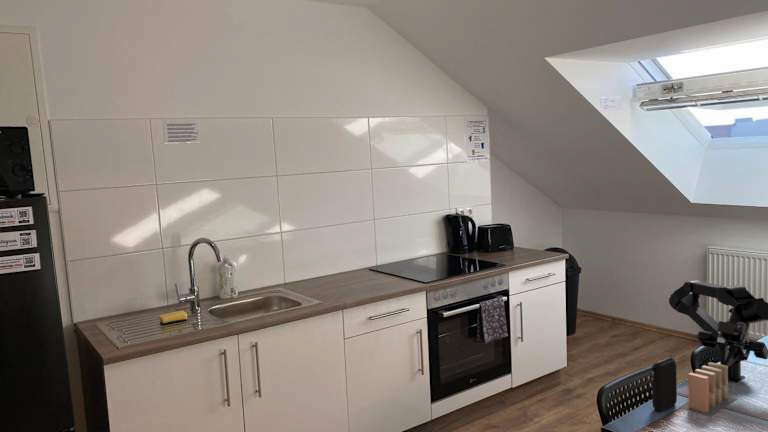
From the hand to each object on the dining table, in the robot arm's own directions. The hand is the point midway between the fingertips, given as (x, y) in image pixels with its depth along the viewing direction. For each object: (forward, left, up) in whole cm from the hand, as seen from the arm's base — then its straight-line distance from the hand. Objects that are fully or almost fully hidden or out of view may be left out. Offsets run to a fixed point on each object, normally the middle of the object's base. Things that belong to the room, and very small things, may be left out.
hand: (723, 368), depth 179 cm
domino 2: (+11, 0, -8) cm, 14 cm away
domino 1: (+15, 0, -8) cm, 17 cm away
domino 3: (+7, 0, -8) cm, 11 cm away
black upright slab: (+21, -8, -9) cm, 24 cm away
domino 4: (+3, 0, -8) cm, 9 cm away
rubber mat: (+9, 0, -8) cm, 12 cm away
